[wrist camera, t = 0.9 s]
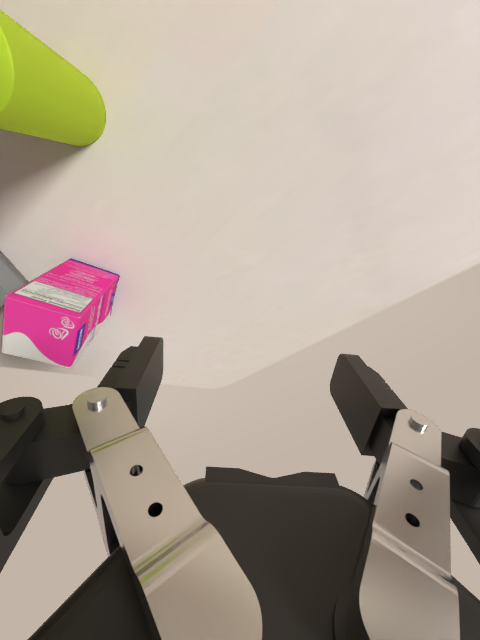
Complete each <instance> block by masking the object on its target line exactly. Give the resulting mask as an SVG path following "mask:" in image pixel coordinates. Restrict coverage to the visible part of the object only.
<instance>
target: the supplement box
mask: <svg viewBox="0 0 480 640" xmlns="http://www.w3.org/2000/svg"><path fill="white" fill-rule="evenodd" d="M119 277H120V276H119V275H118V274H115V273H112V272H109V271H106V270H103V269H100V268H97V267H94V266H91V265H88V264H86V263H83V262H80V261H77V260H74V259H69V260H67V261H65V262H64V263H62V264H60V265H59V266H57V267H55V268H53V269H52V270H50V271H48V272H46V273H45V274H43V275H41V276H39V277H38V278H36V279H34V280H32V281H31V282H29V283H27V284H25V285H24V286H22V287H20V288H18V289H17V290H15V291H13V292H11V293H10V294H8V295H6V296H5V301H4V315H3V334H2V353H4V354H9V355H14V356H18V357H23V358H27V359H32V360H36V361H40V362H44V363H48V364H52V365H56V366H60V367H64V368H69V369H70V368H71V367H72V366H73V365H74V363H75V362H76V361H77V359H78V358H79V357H80V355H81V354H82V353H83V351H84V350H85V349H86V347H87V346H88V345H89V343H90V342H91V341H92V339H93V338H94V337H95V335H96V334H97V333H98V331H99V330H100V329H101V327H102V326H103V324H104V323H105V322H106V320H107V319H108V318H109V316H110V315H111V310H112V304H113V300H114V296H115V292H116V288H117V283H118V281H119Z"/></svg>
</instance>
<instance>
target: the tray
mask: <svg viewBox="0 0 480 640" xmlns="http://www.w3.org/2000/svg"><path fill="white" fill-rule="evenodd" d="M27 283H29V282H28V281H27V280H26V279H25V278H24V276H23V275H22V274H21V273H20V272H19V271H18V270H17V269H16V268H15V266H14V265H13V264H12V263H11V262H10V261H9V260H8V259H7V258H6V256H5V255H4V254H3V253H2V252H1V251H0V307H1V306H3V305H4V301H5V296H6V295H8V294H10V293H11V292H13V291H15V290H17V289H18V288H20V287H22V286H24V285H25V284H27Z"/></svg>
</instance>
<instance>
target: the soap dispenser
mask: <svg viewBox="0 0 480 640" xmlns="http://www.w3.org/2000/svg"><path fill="white" fill-rule="evenodd" d="M105 122H106V112H105V106H104V102H103V99H102V97H101V95H100V93H99V91H98V89H97V88H96V86H95V85H94V84H93V82H92V81H91V80H90V79H89V78H88V77H87V76H86V75H85V74H83V73H82V72H81V71H79V70H78V69H77V68H75V67H74V66H73V65H71V64H70V63H69V62H68V61H66V60H65V59H64V58H62V57H61V56H60V55H58V54H57V53H56V52H54V51H53V50H52V49H51V48H49V47H48V46H47V45H45V44H44V43H43V42H41V41H40V40H39V39H38V38H36V37H35V36H34V35H32V34H31V33H30V32H28V31H27V30H26V29H24V28H23V27H22V26H21V25H19V24H18V23H17V22H15V21H14V20H13V19H11V18H10V17H9V16H8V15H6V14H5V13H4V12H2V11H1V10H0V129H4V130H9V131H13V132H17V133H22V134H26V135H31V136H35V137H40V138H44V139H49V140H53V141H58V142H62V143H67V144H71V145H76V146H85V145H89V144H91V143H93V142H95V141H96V140H97V139H98V138H99V137H100V136H101V134H102V132H103V130H104V127H105Z"/></svg>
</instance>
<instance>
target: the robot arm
mask: <svg viewBox="0 0 480 640" xmlns="http://www.w3.org/2000/svg"><path fill="white" fill-rule="evenodd" d="M162 375H163V338H159V337H148V336H145V337H144V338H143V340H142V341H141V343H140V345H139V346H138V347H133V346H131V347H129V348H127V349H126V350H124V351H123V352H121V354H120V355H119V357H118V358H117V359H116V361H115V362H114V364H113V365H112V367H111V368H110V369H109V371H108V372H107V374H106V375H105V377H104V378H103V380H102V381H101V383H100V384H99V385H98V387H97V388H94V389H90V390H88V391H85V392H83V393H82V394H80V395H79V396H78V397H77V398H76V399H75V400H74V402H73V404H70V405H66V406H59V407H53V408H46V409H43V406H42V403H41V401H40V400H39V399H36V398H34V397H18V398H13V399H10V400H7V401H4V402H2V403H0V573H1V571H2V569H3V567H4V565H5V564H6V562H7V560H8V558H9V556H10V555H11V553H12V551H13V549H14V547H15V546H16V544H17V542H18V540H19V538H20V537H21V535H22V533H23V531H24V530H25V528H26V526H27V524H28V522H29V521H30V519H31V517H32V515H33V513H34V511H35V510H36V508H37V506H38V504H39V502H40V501H41V499H42V497H43V495H44V494H45V492H46V490H47V488H48V486H49V485H50V483H51V481H52V479H53V478H54V477H57V476H62V475H66V474H70V473H75V472H79V471H84V475H85V478H86V481H87V484H88V488H89V491H90V494H91V497H92V500H93V504H94V507H95V510H96V513H97V516H98V520H99V524H100V528H101V532H102V537H103V541H104V544H105V548H106V551H107V554H108V558H107V559H106V560H105V561H104V562H103V563H102V564H101V565H100V566H99V567H98V568H97V569H96V570H95V571H94V572H93V573H92V574H91V575H90V577H88V578H87V580H85V582H83V583H82V585H81V586H80V587H79V588H78V589H77V590H76V591H75V592H74V593H73V594H72V595H71V596H70V597H69V598H68V599H67V600H66V601H65V602H64V603H63V604H62V605H61V606H60V607H59V608H58V609H57V610H56V611H55V612H54V613H53V614H52V615H51V616H50V617H49V618H48V619H47V620H46V622H44V623H43V625H42V626H41V627H40V628H39V629H38V630H37V631H36V632H35V633H34V634H33V635H32V636H31V637H30V638H29V639H28V640H480V601H479V600H478V599H477V598H476V597H475V596H474V595H473V594H472V593H471V592H469V591H468V590H467V589H466V588H465V587H464V586H463V585H461V583H460V582H458V581H457V580H456V579H455V578H454V577H453V576H452V575H451V558H450V557H451V554H450V553H451V551H450V518H451V519H452V521H453V522H454V524H455V526H456V527H457V529H458V530H459V532H460V534H461V535H462V537H463V538H464V540H465V541H466V543H467V545H468V546H469V548H470V549H471V551H472V553H473V554H474V556H475V557H476V559H477V561H478V562H479V564H480V429H477V428H470V429H468V430H467V431H466V432H465V434H464V436H463V437H462V438H461V437H458V436H454V435H451V434H447V433H444V432H441V430H440V428H439V426H438V425H437V424H436V423H435V422H434V421H433V420H432V419H430V418H429V417H427V416H426V415H424V414H422V413H420V412H417V411H414V410H410V409H408V408H406V406H405V405H404V404H403V403H402V401H401V400H400V399H399V398H398V396H397V395H396V394H395V393H394V392H393V390H391V388H390V387H389V386H388V384H387V383H385V381H384V379H383V378H382V377H381V376H380V375H379V374H378V373H377V372H376V371H374V370H373V369H371V368H370V367H367V365H366V364H365V363H364V362H363V360H362V359H361V358H360V357H359V356H358V355H351V354H340V355H339V357H338V359H337V362H336V366H335V369H334V372H333V375H332V379H331V382H330V392H331V395H332V397H333V399H334V401H335V403H336V405H337V407H338V409H339V411H340V413H341V415H342V417H343V419H344V421H345V423H346V425H347V427H348V429H349V431H350V433H351V435H352V437H353V439H354V441H355V443H356V445H357V447H358V449H359V451H360V453H361V455H368V456H375V458H376V461H375V463H374V465H373V468H372V471H371V475H370V478H369V481H368V484H367V488H366V491H365V494H364V497H362V496H361V495H359V494H357V493H356V492H354V491H352V490H350V489H347V488H345V487H343V486H339V484H338V481H337V479H336V476H335V474H334V473H333V474H332V473H314V472H301V473H297V474H292V475H287V476H282V477H278V478H269V477H266V476H263V475H259V474H255V473H252V472H249V471H246V470H242V469H239V468H220V467H206V476H205V478H202V479H198V480H195V481H192V482H190V483H187V484H185V485H182V483H181V481H180V480H179V478H178V476H177V475H176V473H175V471H174V470H173V468H172V467H171V465H170V463H169V462H168V460H167V458H166V457H165V455H164V454H163V452H162V450H161V449H160V447H159V445H158V444H157V442H156V440H155V439H154V437H153V435H152V434H151V432H150V431H149V429H148V428H147V427H144V425H145V423H146V420H147V418H148V415H149V412H150V410H151V407H152V404H153V402H154V399H155V396H156V394H157V391H158V388H159V385H160V383H161V380H162Z"/></svg>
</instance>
